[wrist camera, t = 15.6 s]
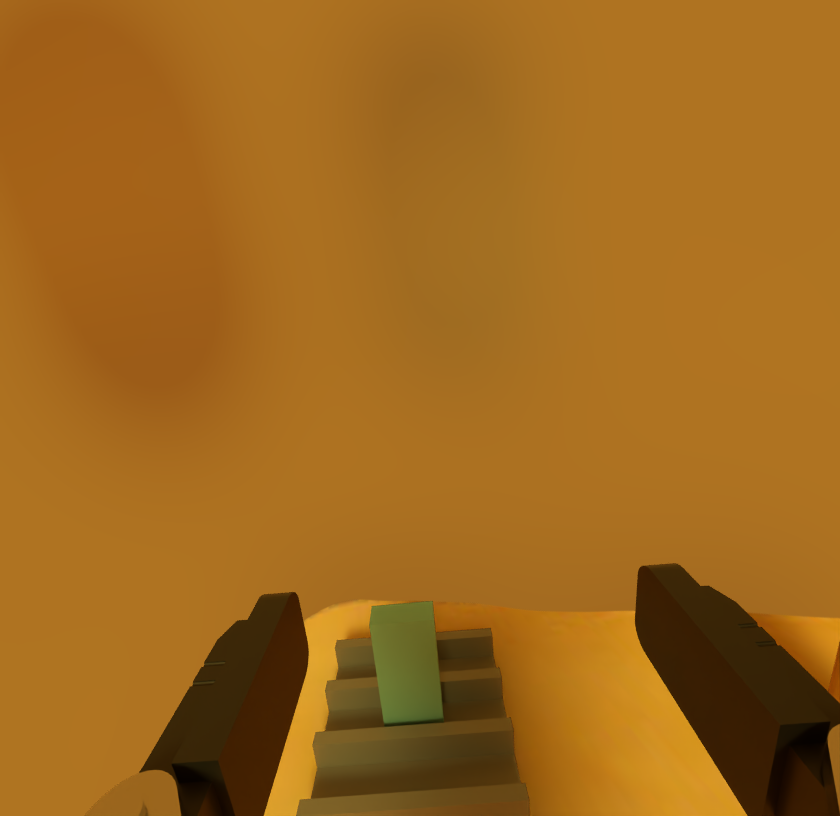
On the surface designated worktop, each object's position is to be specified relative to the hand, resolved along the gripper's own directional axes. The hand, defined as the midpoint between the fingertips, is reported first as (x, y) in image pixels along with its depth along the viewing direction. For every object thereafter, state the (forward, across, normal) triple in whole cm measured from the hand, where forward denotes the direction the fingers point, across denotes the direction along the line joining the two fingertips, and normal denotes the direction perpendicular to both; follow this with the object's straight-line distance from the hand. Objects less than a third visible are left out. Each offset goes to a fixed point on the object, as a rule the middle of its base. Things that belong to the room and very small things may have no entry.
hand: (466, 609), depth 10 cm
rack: (+19, +4, +30) cm, 36 cm away
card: (+19, +4, +29) cm, 35 cm away
